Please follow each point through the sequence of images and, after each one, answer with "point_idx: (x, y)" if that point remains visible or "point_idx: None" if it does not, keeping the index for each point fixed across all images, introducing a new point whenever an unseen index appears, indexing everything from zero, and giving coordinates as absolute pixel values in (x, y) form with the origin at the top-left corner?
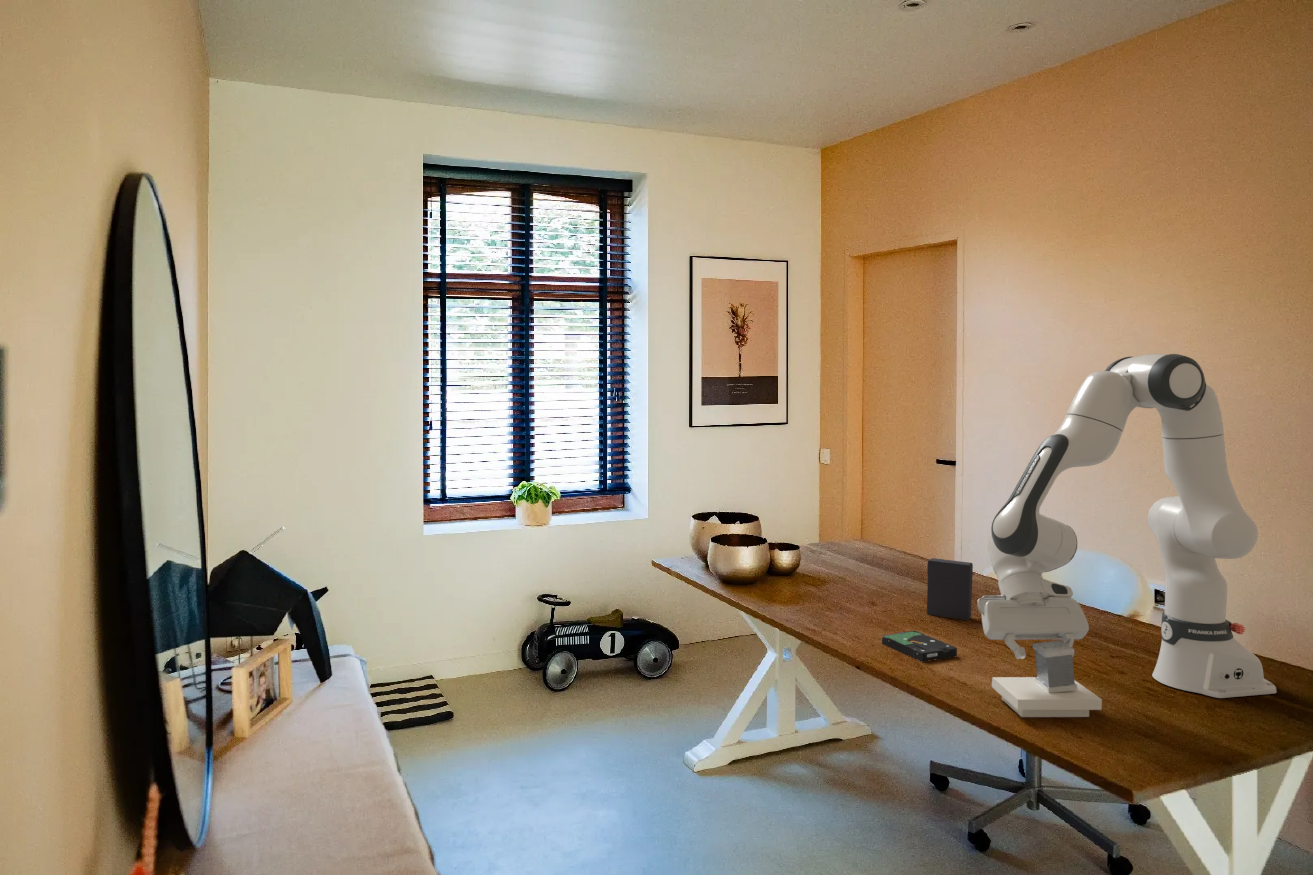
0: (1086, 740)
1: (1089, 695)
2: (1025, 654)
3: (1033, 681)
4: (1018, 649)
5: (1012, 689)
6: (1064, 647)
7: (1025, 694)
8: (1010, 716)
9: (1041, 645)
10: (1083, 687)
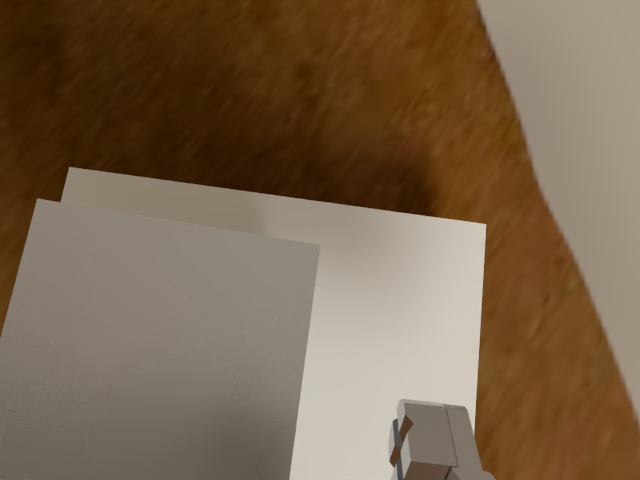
0: (297, 46)
1: None
2: (408, 400)
3: None
4: (466, 445)
5: (444, 359)
6: (82, 283)
7: (413, 282)
8: None
9: (237, 436)
10: None
